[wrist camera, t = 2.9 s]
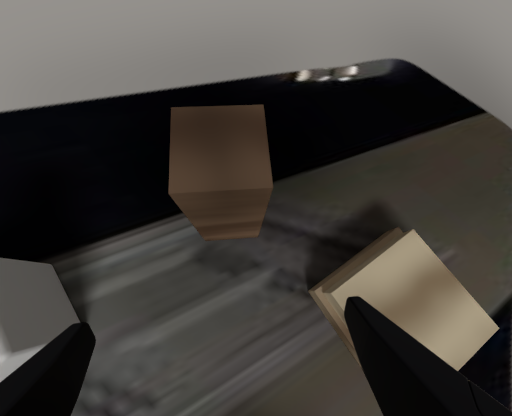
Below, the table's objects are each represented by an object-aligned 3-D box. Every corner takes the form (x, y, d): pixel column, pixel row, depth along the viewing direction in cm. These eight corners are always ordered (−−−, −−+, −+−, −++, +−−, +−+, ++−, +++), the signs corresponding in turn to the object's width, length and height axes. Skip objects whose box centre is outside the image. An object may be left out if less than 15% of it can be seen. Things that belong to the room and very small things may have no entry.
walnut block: (257, 237, 23) (273, 187, 12) (205, 240, 23) (168, 193, 11) (253, 189, 25) (263, 104, 13) (204, 191, 24) (171, 107, 13)
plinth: (461, 322, 22) (508, 330, 18) (382, 399, 19) (416, 426, 16) (386, 231, 24) (413, 221, 20) (307, 290, 22) (321, 291, 18)
